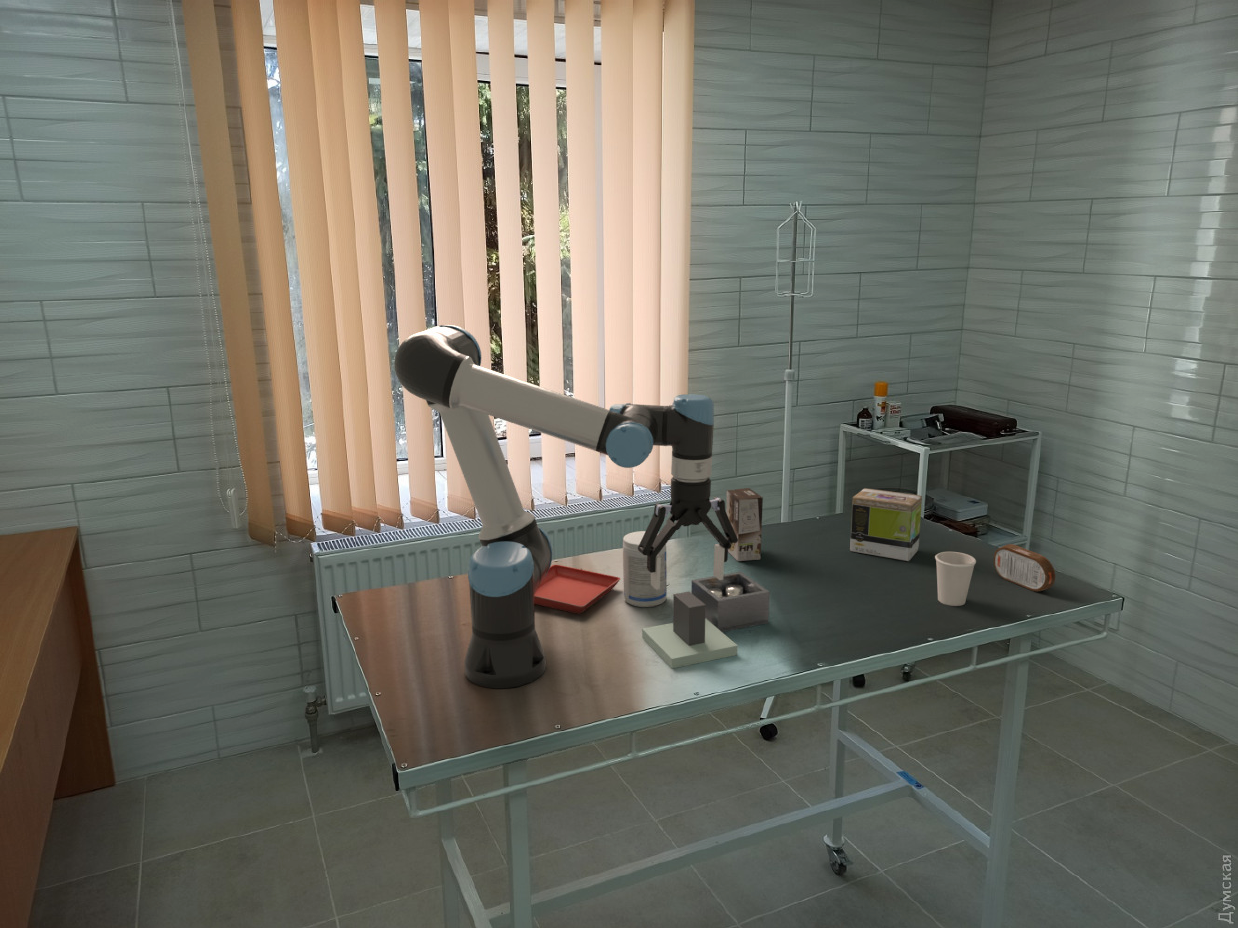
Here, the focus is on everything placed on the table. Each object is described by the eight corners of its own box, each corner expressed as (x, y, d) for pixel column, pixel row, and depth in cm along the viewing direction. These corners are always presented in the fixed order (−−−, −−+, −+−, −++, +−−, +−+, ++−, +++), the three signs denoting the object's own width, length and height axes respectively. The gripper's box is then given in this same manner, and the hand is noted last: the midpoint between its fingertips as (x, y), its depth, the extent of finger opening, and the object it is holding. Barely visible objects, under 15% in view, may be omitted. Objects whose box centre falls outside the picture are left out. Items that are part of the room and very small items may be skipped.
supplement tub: (675, 602, 197) (675, 539, 193) (639, 612, 192) (639, 548, 188) (649, 587, 205) (649, 527, 201) (615, 597, 200) (614, 535, 196)
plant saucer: (621, 589, 205) (621, 576, 204) (582, 620, 190) (582, 605, 189) (554, 576, 213) (554, 563, 212) (512, 604, 198) (511, 590, 197)
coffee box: (761, 559, 222) (763, 497, 217) (737, 561, 220) (739, 499, 216) (748, 547, 230) (750, 487, 226) (724, 549, 229) (726, 489, 224)
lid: (671, 668, 168) (672, 619, 165) (642, 637, 180) (642, 591, 178) (737, 654, 173) (738, 607, 170) (703, 625, 185) (704, 581, 183)
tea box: (919, 550, 227) (923, 494, 223) (908, 562, 219) (913, 505, 215) (860, 540, 235) (864, 486, 231) (848, 551, 226) (851, 496, 223)
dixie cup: (928, 604, 195) (932, 561, 192) (934, 590, 202) (938, 549, 200) (969, 611, 191) (973, 567, 189) (974, 597, 198) (978, 554, 196)
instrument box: (717, 632, 182) (718, 601, 180) (691, 610, 193) (691, 579, 191) (768, 622, 187) (769, 591, 185) (739, 601, 197) (740, 571, 195)
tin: (1054, 594, 199) (1058, 559, 197) (1044, 597, 198) (1048, 562, 196) (998, 572, 212) (1002, 539, 210) (989, 574, 211) (992, 541, 209)
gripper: (637, 489, 160) (635, 598, 165) (759, 476, 169) (752, 580, 174) (622, 478, 166) (620, 583, 172) (739, 466, 175) (734, 567, 181)
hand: (687, 582), depth 173 cm, fingers open, 13 cm apart
